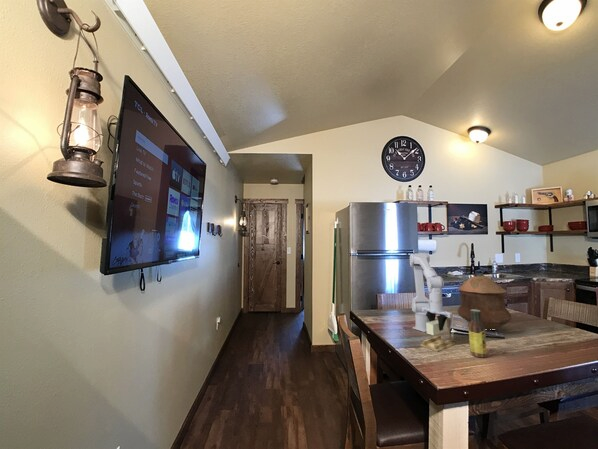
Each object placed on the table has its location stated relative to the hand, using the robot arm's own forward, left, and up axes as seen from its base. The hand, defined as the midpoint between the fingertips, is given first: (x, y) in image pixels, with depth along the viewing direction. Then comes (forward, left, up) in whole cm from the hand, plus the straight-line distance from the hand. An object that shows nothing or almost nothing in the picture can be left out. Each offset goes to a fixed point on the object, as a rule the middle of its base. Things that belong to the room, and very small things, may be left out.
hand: (437, 328), depth 128 cm
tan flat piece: (0, 0, -8) cm, 8 cm away
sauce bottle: (-5, +16, -8) cm, 18 cm away
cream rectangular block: (0, 0, -1) cm, 1 cm away
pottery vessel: (-45, +1, -8) cm, 45 cm away
